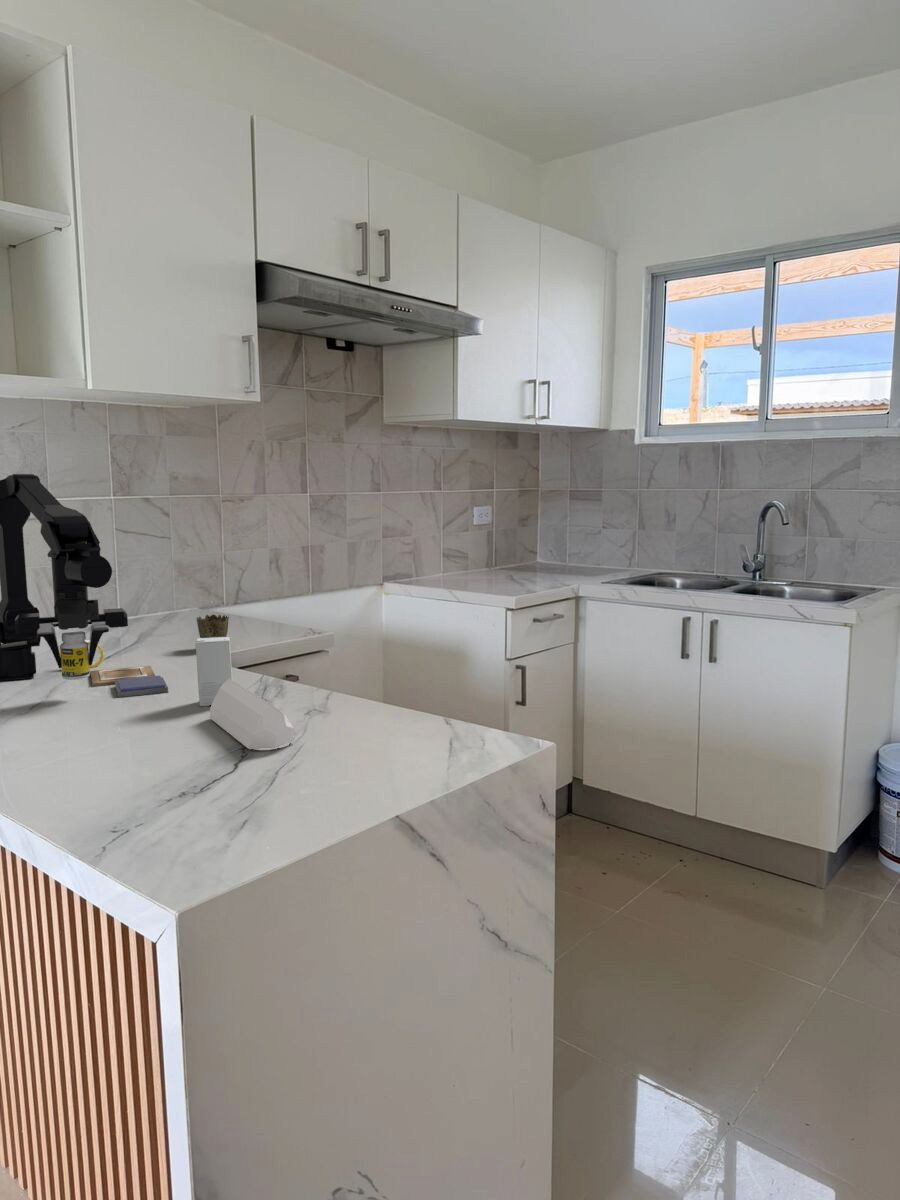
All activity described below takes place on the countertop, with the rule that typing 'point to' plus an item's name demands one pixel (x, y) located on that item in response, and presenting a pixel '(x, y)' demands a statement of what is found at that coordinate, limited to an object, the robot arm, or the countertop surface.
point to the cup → (213, 626)
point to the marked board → (119, 674)
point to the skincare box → (212, 666)
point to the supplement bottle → (74, 656)
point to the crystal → (250, 717)
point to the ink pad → (140, 686)
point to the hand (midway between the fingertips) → (75, 666)
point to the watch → (100, 657)
